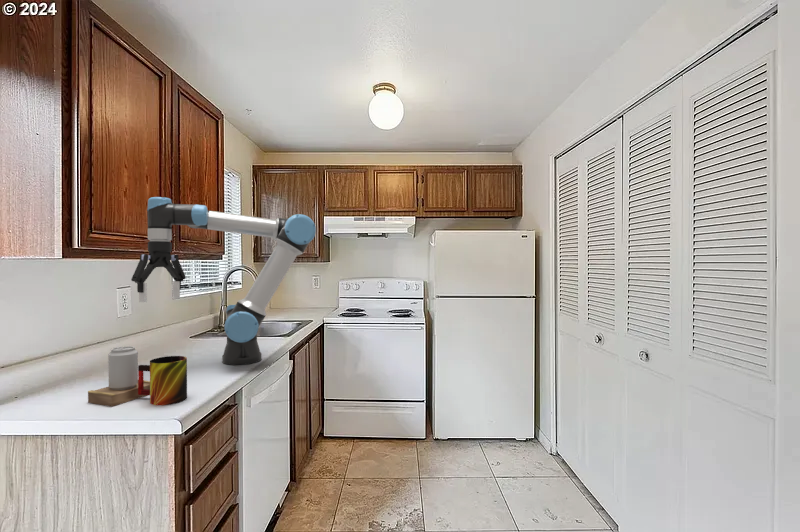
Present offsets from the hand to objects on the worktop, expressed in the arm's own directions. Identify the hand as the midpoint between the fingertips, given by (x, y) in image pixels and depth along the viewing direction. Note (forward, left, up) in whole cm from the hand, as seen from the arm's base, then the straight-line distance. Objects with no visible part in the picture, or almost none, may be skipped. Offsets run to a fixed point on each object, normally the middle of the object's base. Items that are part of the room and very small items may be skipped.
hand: (160, 300), depth 157 cm
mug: (+21, +25, -27) cm, 42 cm away
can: (+23, +12, -24) cm, 35 cm away
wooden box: (+23, +12, -27) cm, 37 cm away
